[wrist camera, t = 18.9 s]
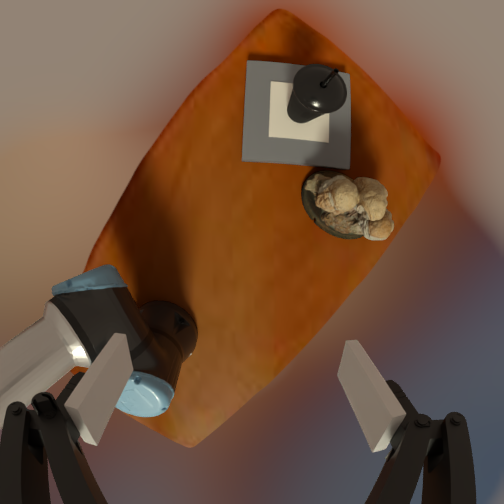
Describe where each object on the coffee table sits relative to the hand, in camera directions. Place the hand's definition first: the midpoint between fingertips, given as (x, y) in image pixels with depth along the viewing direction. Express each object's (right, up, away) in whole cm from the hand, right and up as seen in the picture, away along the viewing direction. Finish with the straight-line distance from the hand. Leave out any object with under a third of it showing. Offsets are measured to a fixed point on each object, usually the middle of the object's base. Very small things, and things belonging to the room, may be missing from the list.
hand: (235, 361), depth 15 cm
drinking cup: (+10, +32, +29) cm, 44 cm away
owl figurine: (+18, +16, +37) cm, 44 cm away
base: (+10, +32, +32) cm, 47 cm away
